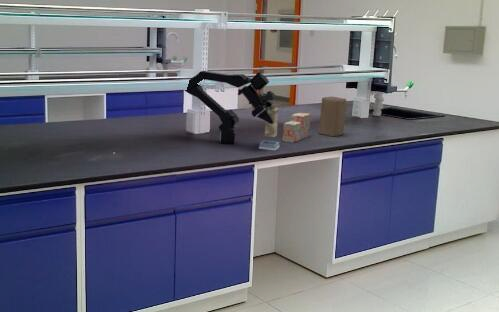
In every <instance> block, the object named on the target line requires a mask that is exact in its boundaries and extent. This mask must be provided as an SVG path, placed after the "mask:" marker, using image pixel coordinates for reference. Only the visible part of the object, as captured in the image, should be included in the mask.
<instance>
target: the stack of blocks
mask: <svg viewBox="0 0 499 312" xmlns="http://www.w3.org/2000/svg"><path fill="white" fill-rule="evenodd" d="M290 117H291V118H290V120H289V121H286V122H284V123H283V129H282V142H287V143H296V142H298V141H301V140H303V139H306V138H309V137H310V130H311V129H310V127H311V118H312V114H311V113H307V112H306V113H305V112H297V113H294V114H291V116H290Z"/></svg>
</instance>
